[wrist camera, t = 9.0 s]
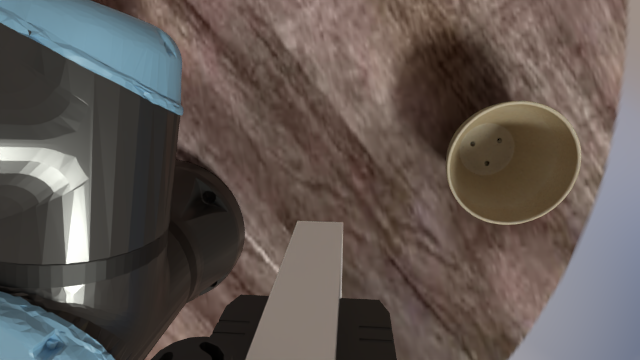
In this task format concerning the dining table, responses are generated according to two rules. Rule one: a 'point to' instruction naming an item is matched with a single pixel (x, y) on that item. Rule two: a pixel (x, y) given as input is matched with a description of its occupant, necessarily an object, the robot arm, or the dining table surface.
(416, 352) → the dining table surface
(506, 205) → the flower pot
